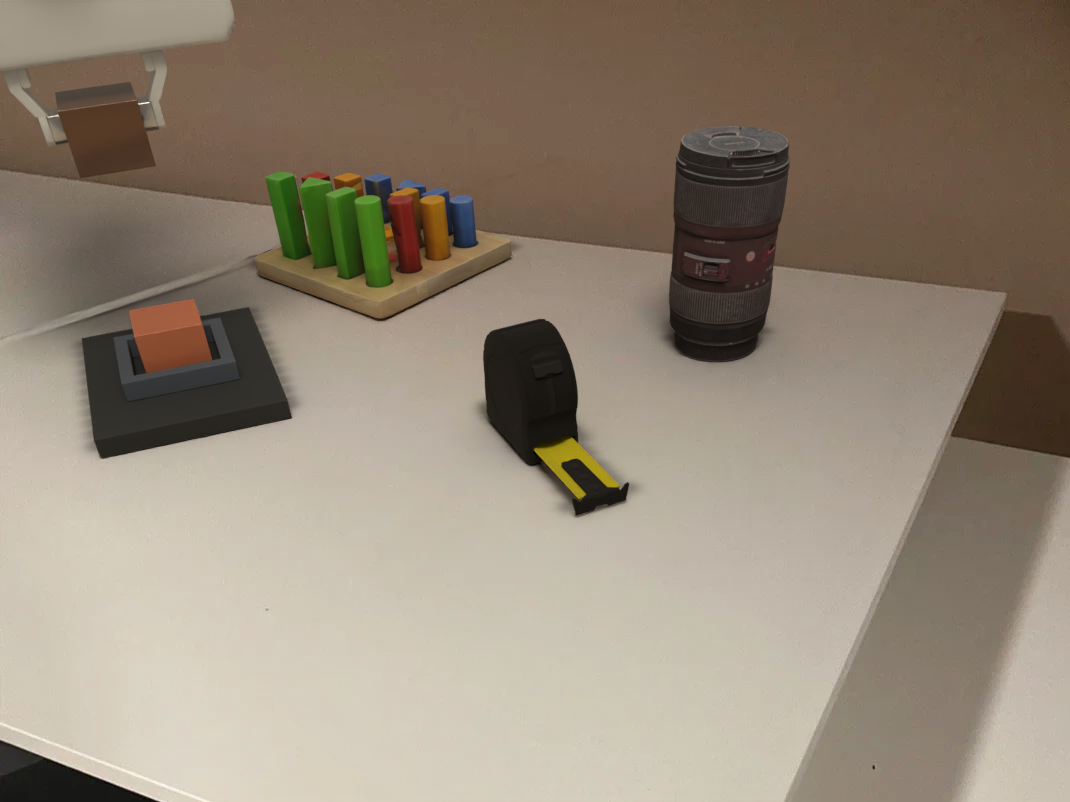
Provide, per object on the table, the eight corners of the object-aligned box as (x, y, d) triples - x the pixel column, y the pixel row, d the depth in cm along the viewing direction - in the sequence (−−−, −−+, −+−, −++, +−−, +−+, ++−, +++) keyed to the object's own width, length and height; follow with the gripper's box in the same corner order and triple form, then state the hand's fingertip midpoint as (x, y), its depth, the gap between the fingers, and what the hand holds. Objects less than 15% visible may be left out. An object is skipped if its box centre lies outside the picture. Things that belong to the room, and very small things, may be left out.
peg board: (515, 257, 96) (510, 159, 90) (381, 323, 87) (365, 218, 81) (389, 219, 104) (376, 126, 98) (255, 275, 95) (232, 177, 89)
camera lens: (785, 354, 80) (814, 146, 70) (692, 374, 78) (708, 164, 68) (737, 314, 86) (757, 115, 75) (649, 332, 84) (658, 131, 73)
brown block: (156, 166, 69) (136, 99, 66) (80, 178, 68) (57, 111, 65) (149, 146, 72) (130, 81, 69) (76, 157, 71) (54, 92, 68)
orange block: (216, 373, 78) (202, 323, 76) (150, 387, 77) (133, 336, 74) (207, 347, 82) (193, 298, 79) (144, 359, 81) (128, 310, 78)
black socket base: (291, 418, 76) (283, 380, 74) (101, 458, 73) (86, 421, 71) (253, 323, 88) (244, 289, 86) (87, 355, 85) (74, 320, 83)
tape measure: (485, 419, 75) (476, 313, 69) (538, 405, 76) (533, 299, 70) (573, 518, 65) (570, 405, 60) (631, 500, 67) (635, 387, 61)
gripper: (197, -150, 63) (251, 101, 73) (-158, -118, 59) (-49, 145, 68) (210, -141, 59) (266, 124, 69) (-171, -106, 54) (-52, 173, 64)
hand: (106, 135), depth 69 cm, fingers closed on brown block, 5 cm apart
